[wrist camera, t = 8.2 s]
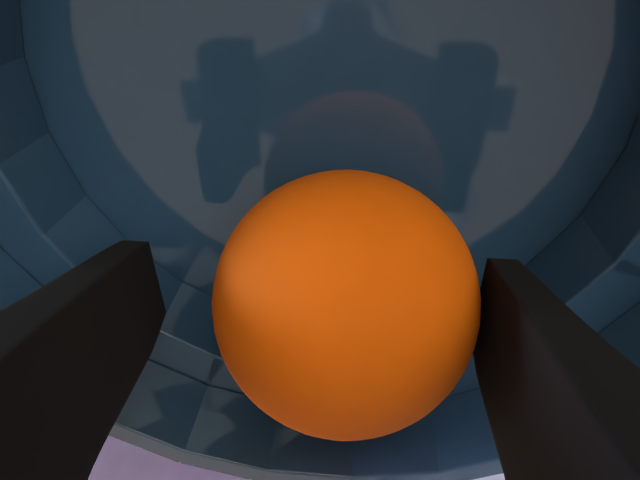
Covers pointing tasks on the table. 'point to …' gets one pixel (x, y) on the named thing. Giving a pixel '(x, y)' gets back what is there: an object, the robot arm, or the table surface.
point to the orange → (346, 305)
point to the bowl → (312, 157)
